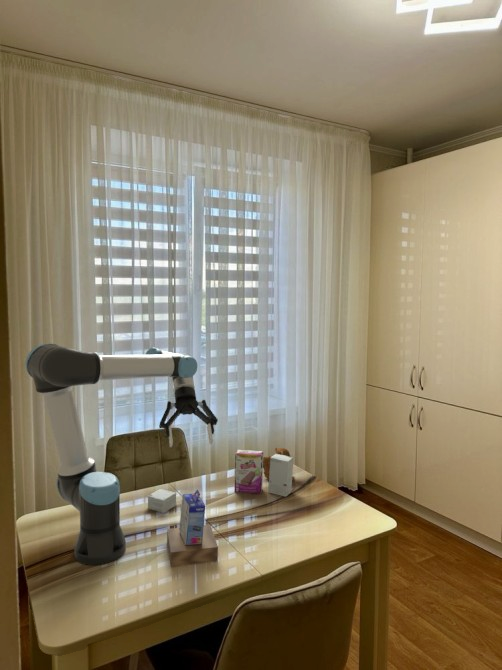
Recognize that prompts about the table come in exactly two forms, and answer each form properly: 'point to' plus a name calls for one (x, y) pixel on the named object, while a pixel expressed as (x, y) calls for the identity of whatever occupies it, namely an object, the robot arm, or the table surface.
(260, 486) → the candy bar box
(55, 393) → the robot arm
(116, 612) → the table surface
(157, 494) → the small box
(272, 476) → the skincare box
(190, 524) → the ink cartridge box
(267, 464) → the stuffed squirrel
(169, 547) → the walnut block
